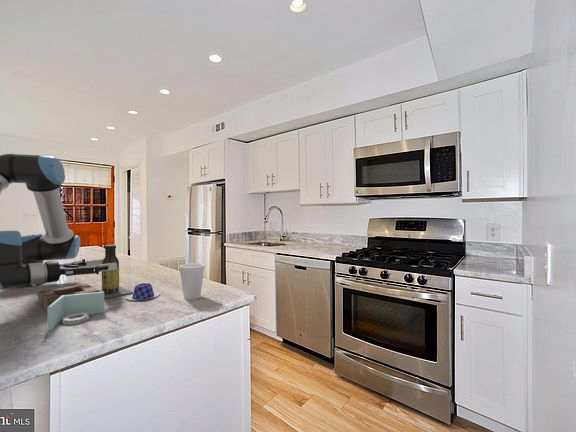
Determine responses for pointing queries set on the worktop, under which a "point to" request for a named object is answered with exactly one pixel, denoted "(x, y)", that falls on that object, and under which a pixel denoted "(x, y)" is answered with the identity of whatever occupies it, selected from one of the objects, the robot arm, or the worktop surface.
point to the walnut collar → (52, 295)
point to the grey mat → (117, 293)
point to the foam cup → (192, 280)
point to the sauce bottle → (110, 271)
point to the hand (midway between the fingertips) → (110, 263)
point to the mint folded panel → (74, 308)
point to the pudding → (142, 292)
